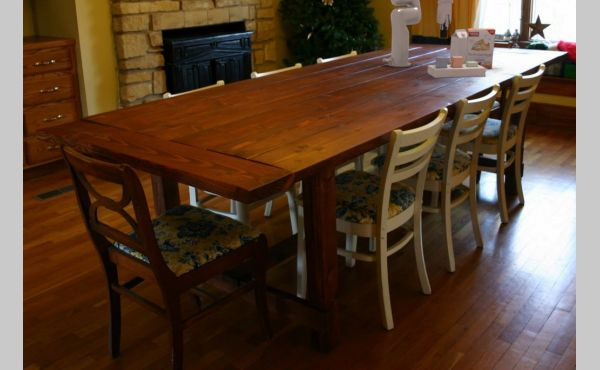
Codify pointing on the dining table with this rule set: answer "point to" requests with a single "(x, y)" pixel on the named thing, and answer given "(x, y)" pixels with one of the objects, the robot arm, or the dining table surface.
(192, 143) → the dining table surface
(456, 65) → the key terracotta
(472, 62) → the key sage
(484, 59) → the cracker box
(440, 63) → the key slate
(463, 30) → the milk carton
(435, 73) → the white rectangular tray
